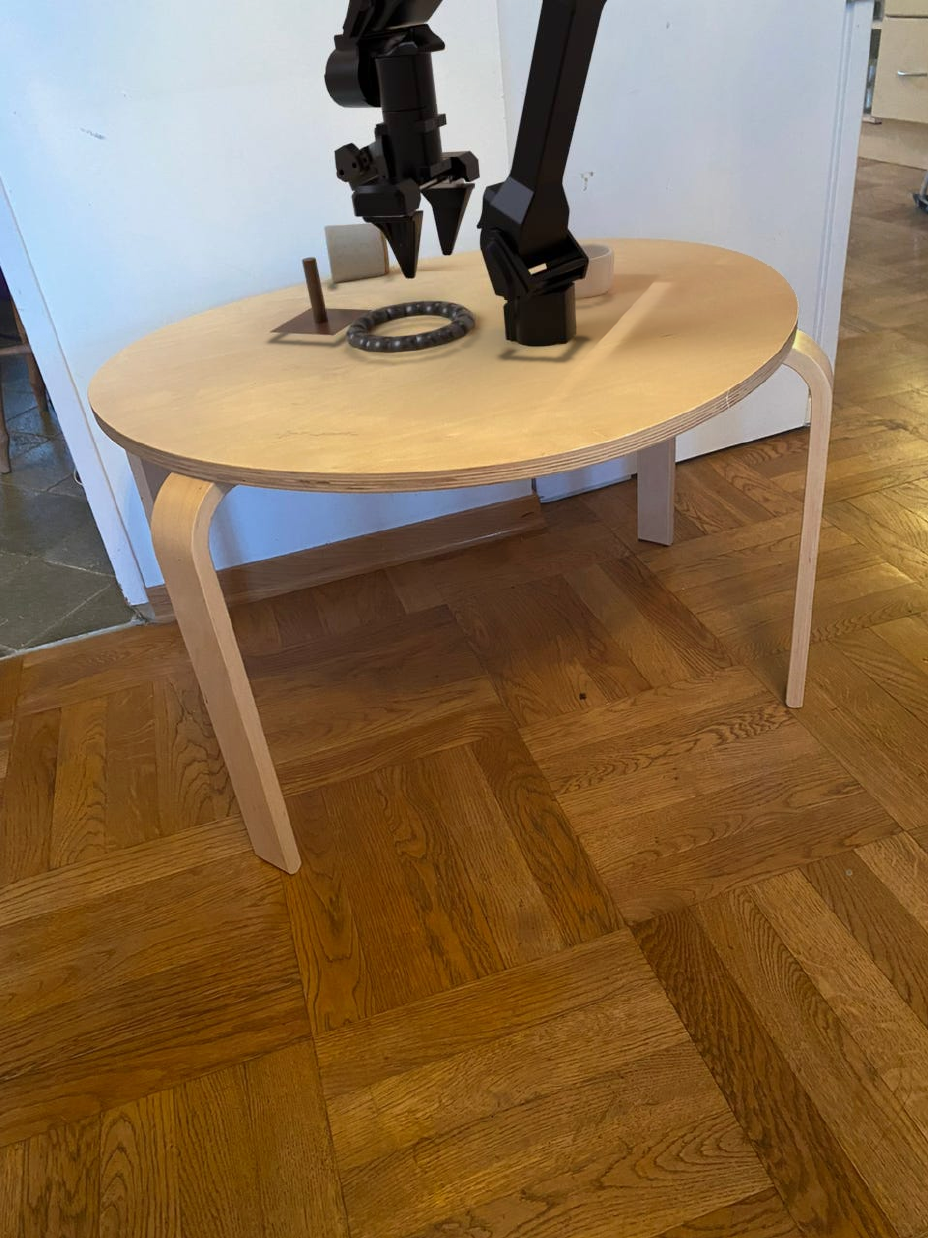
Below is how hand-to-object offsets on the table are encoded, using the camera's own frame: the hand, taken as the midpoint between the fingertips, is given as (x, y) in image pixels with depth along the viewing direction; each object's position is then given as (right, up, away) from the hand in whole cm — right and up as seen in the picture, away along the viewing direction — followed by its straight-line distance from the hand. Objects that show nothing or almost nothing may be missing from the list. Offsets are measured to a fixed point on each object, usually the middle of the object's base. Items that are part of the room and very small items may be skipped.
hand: (429, 266), depth 98 cm
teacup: (+18, -2, +6) cm, 19 cm away
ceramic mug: (-11, +7, +23) cm, 26 cm away
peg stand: (-13, -5, +6) cm, 15 cm away
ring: (-2, -7, -1) cm, 8 cm away
